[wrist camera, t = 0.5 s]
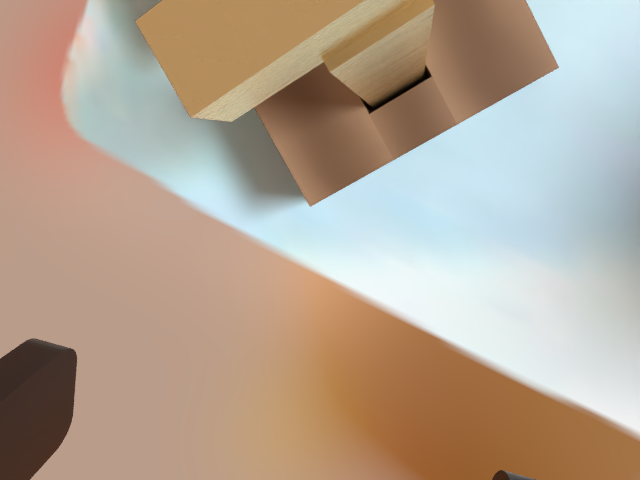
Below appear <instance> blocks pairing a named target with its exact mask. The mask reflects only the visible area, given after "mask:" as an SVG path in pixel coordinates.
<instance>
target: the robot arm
mask: <svg viewBox="0 0 640 480" xmlns="http://www.w3.org/2000/svg"><path fill="white" fill-rule="evenodd" d="M76 366H77V355H76V352H75V351H74V350H73V349H71V348H67V347H64V346H60V345H56V344H53V343H49V342H46V341H42V340H38V339H29V340H27V341H26V342H24V343H22V344H21V345H19V346H18V347H16V348H15V349H14V350H12V351H11V352H9V353H8V354H7V355H5V356H4V357H2V358H1V359H0V480H30V479H31V478H32V477H33V476H34V474H35V473H36V472H37V471H38V470H39V469H40V468H41V467H42V466H43V464H44V463H45V462H46V461H47V460H48V459H49V458H50V457H51V456H52V455H53V453H54V452H55V451H56V450H57V449H58V448H59V446H60V445H61V443H62V442H63V440H64V438H65V436H66V434H67V432H68V430H69V427H70V425H71V421H72V417H73V407H74V406H73V405H74V393H75V379H76ZM492 480H535V479H532V478H528V477H525V476H521V475H517V474H514V473H510V472H507V471H503V470H500V471H498V472H497V473H496V474H495V475H494V477H493V479H492Z"/></svg>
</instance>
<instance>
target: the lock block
mask: <svg viewBox="0 0 640 480" xmlns="http://www.w3.org/2000/svg"><path fill="white" fill-rule="evenodd" d="M433 2H434V4H435V7H434V13H433V20H432V26H431V32H430V39H429V45H428V51H427V58H426V64H425V71H424V77H423V82H422V83H420V84H419V85H417V86H415V87H414V88H412V89H410V90H409V91H407V92H405V93H404V94H402V95H400V96H399V97H397V98H395V99H394V100H392V101H390V102H389V103H387V104H385V105H384V106H382V107H380V108H379V109H377V110H376V109H374V108H373V107H372V106H371V105H369V104H368V103H367V102H366V101H364V100H363V99H362V98H361V97H360V96H358V95H357V94H356V93H355V92H353V91H352V90H351V89H350V88H348V87H347V86H346V85H345V84H344V83H342V82H341V81H340V80H339V79H337V78H336V77H335V76H334V75H332V74H331V73H330V72H329V70H328V68H327V66H326V65H325V63H324V62H323V63H321V64H320V65H318V66H317V67H315V68H314V69H312V70H311V71H309V72H308V73H306V74H305V75H303V76H301V77H300V78H298V79H297V80H295V81H294V82H292V83H291V84H289V85H288V86H286V87H285V88H283V89H282V90H280V91H278V92H277V93H275V94H274V95H272V96H271V97H269V98H268V99H266V100H265V101H263V102H262V103H260V104H259V105H257V106H255V107H254V108H255V110H256V112H257V113H258V115H259V117H260V119H261V121H262V122H263V124H264V126H265V128H266V129H267V131H268V133H269V135H270V137H271V138H272V140H273V142H274V144H275V145H276V147H277V149H278V151H279V152H280V154H281V156H282V158H283V160H284V161H285V163H286V165H287V167H288V168H289V170H290V172H291V174H292V176H293V177H294V179H295V181H296V183H297V184H298V186H299V188H300V190H301V192H302V193H303V195H304V197H305V199H306V200H307V202H308V204H309V206H310V207H311V206H312V205H314V204H316V203H318V202H319V201H321V200H323V199H325V198H327V197H328V196H330V195H332V194H334V193H336V192H337V191H339V190H341V189H343V188H344V187H346V186H348V185H350V184H352V183H353V182H355V181H357V180H359V179H361V178H362V177H364V176H366V175H368V174H370V173H371V172H373V171H375V170H377V169H378V168H380V167H382V166H384V165H386V164H387V163H389V162H391V161H393V160H395V159H396V158H398V157H400V156H402V155H403V154H405V153H407V152H409V151H411V150H412V149H414V148H416V147H418V146H420V145H421V144H423V143H425V142H427V141H429V140H430V139H432V138H434V137H436V136H437V135H439V134H441V133H443V132H445V131H446V130H448V129H450V128H452V127H454V126H455V125H457V124H459V123H461V122H462V121H464V120H466V119H468V118H470V117H471V116H473V115H475V114H477V113H479V112H480V111H482V110H484V109H486V108H487V107H489V106H491V105H493V104H495V103H496V102H498V101H500V100H502V99H504V98H505V97H507V96H509V95H511V94H513V93H514V92H516V91H518V90H520V89H521V88H523V87H525V86H527V85H529V84H530V83H532V82H534V81H536V80H538V79H539V78H541V77H543V76H545V75H546V74H548V73H550V72H552V71H554V70H555V69H557V68H559V67H558V65H557V63H556V60H555V58H554V56H553V54H552V52H551V50H550V48H549V46H548V44H547V42H546V40H545V38H544V36H543V34H542V32H541V30H540V28H539V26H538V24H537V22H536V20H535V18H534V16H533V14H532V12H531V10H530V8H529V6H528V4H527V2H526V0H433Z"/></svg>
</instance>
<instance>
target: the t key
mask: <svg viewBox="0 0 640 480" xmlns="http://www.w3.org/2000/svg"><path fill="white" fill-rule="evenodd" d="M434 7H435V4H434V2H433V0H162V1H161V2H159V3H158V4H157V5H155V6H154V7H153V8H152V9H150V10H149V11H148V12H146V13H145V14H144V15H143V16H141V17H140V18H139V19H137V20H136V21H135V22H136V24H137V26H138V27H139V29H140V31H141V32H142V34H143V36H144V38H145V39H146V41H147V43H148V45H149V46H150V48H151V50H152V51H153V53H154V55H155V57H156V58H157V60H158V62H159V64H160V65H161V67H162V69H163V71H164V72H165V74H166V76H167V77H168V79H169V81H170V83H171V84H172V86H173V88H174V90H175V91H176V93H177V95H178V97H179V98H180V100H181V102H182V103H183V105H184V107H185V109H186V110H187V112H188V114H189V116H190V117H191V118H199V119H209V120H219V121H229V122H232V121H234V120H235V119H237V118H239V117H240V116H242V115H243V114H245V113H246V112H248V111H249V110H251V109H252V108H254V107H255V106H257V105H259V104H260V103H262V102H263V101H265V100H266V99H268V98H269V97H271V96H272V95H274V94H275V93H277V92H278V91H280V90H282V89H283V88H285V87H286V86H288V85H289V84H291V83H292V82H294V81H295V80H297V79H298V78H300V77H301V76H303V75H305V74H306V73H308V72H309V71H311V70H312V69H314V68H315V67H317V66H318V65H320V64H321V63H323V62H324V63H325V65H326V66H327V68H328V70H329V72H330V73H331V74H332V75H334V76H335V77H336V78H337V79H339V80H340V81H341V82H342V83H344V84H345V85H346V86H347V87H348V88H350V89H351V90H352V91H353V92H355V93H356V94H357V95H358V96H360V97H361V98H362V99H363V100H364V101H366V102H367V103H368V104H369V105H371V106H372V107H373V108H374V109H376V110H377V109H379V108H380V107H382V106H384V105H385V104H387V103H389V102H390V101H392V100H394V99H395V98H397V97H399V96H400V95H402V94H404V93H405V92H407V91H409V90H410V89H412V88H414V87H415V86H417V85H419V84H420V83H422V82H423V77H424V71H425V64H426V58H427V51H428V45H429V39H430V32H431V26H432V20H433V13H434Z"/></svg>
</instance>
